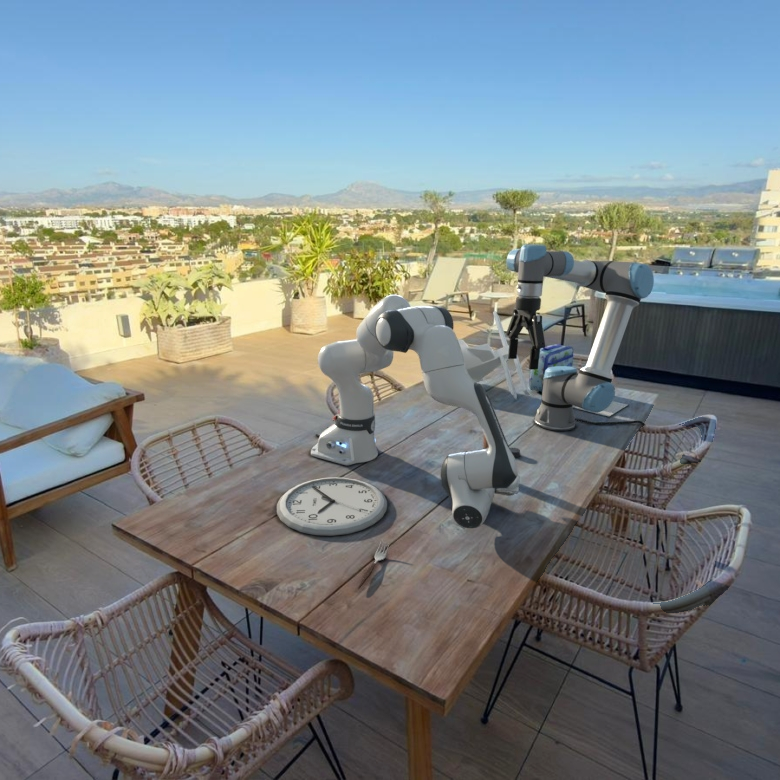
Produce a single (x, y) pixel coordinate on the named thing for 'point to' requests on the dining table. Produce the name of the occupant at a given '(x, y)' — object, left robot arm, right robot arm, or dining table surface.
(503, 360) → the white plastic object
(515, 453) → the cap
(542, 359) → the lunch box
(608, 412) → the invitation card
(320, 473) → the dining table surface
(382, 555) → the fork
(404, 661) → the dining table surface
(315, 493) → the wall clock
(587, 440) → the dining table surface
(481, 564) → the dining table surface
